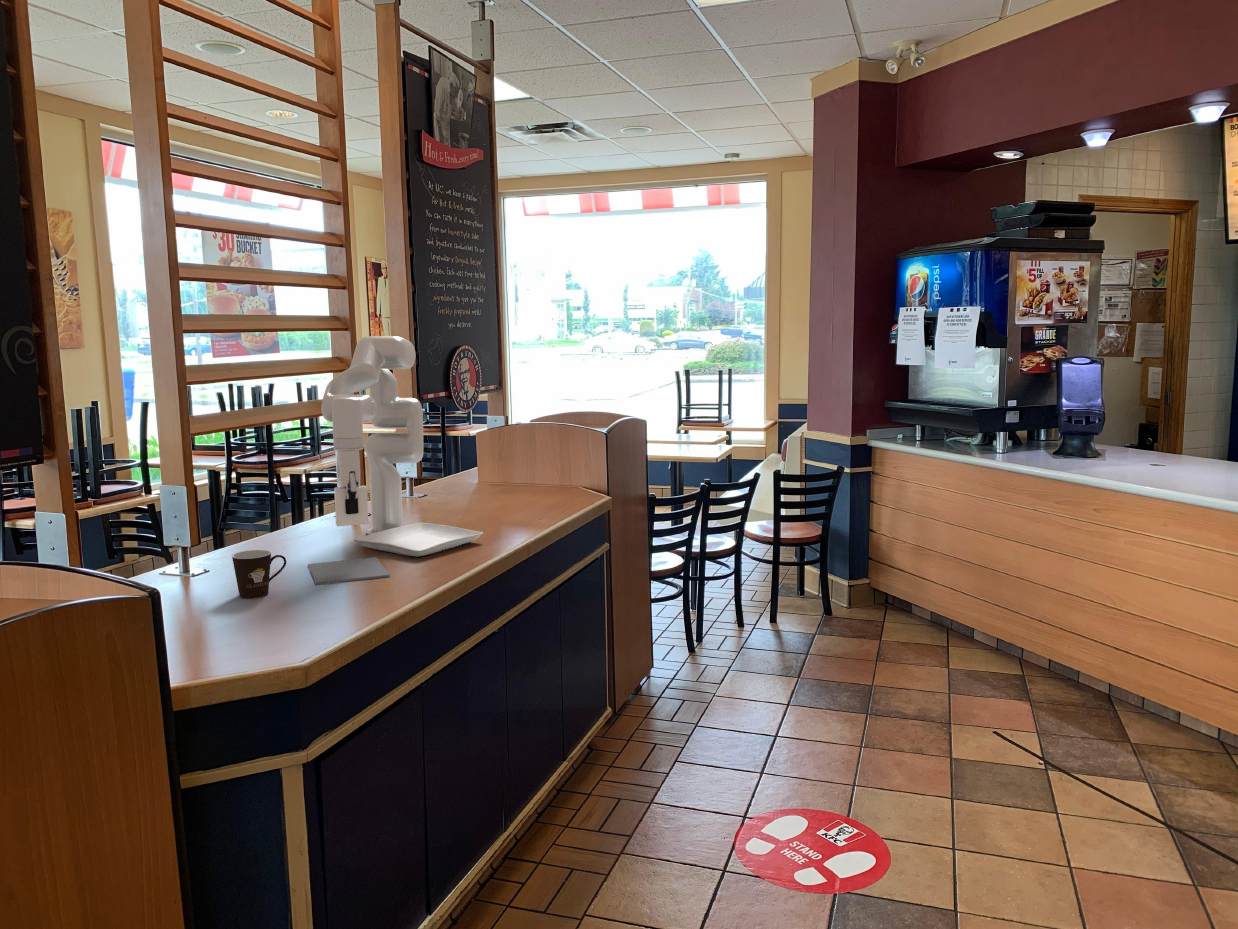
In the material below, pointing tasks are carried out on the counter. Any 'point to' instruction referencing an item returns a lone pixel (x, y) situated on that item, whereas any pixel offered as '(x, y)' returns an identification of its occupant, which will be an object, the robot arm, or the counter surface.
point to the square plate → (418, 539)
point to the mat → (347, 570)
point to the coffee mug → (254, 572)
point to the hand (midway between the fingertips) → (351, 511)
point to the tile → (340, 509)
